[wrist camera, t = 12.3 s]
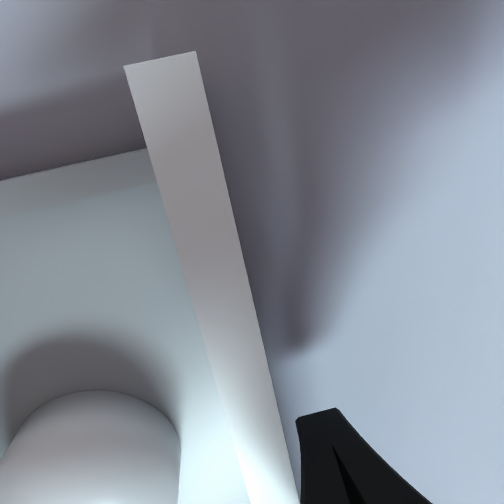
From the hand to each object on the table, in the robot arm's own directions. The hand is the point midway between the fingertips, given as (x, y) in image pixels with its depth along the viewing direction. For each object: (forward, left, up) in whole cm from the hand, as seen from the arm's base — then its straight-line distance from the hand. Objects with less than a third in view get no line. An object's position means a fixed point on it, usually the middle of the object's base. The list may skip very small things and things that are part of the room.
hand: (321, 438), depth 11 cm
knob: (+7, 0, -2) cm, 7 cm away
